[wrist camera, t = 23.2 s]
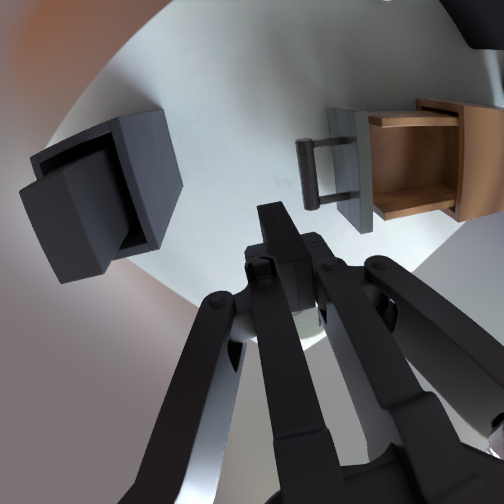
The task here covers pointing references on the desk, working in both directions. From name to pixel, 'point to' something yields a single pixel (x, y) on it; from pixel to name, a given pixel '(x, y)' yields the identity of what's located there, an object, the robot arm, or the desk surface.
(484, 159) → the cabinet
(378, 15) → the desk surface
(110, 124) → the caddy
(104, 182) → the block
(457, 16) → the electronic device
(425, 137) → the drawer
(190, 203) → the desk surface
